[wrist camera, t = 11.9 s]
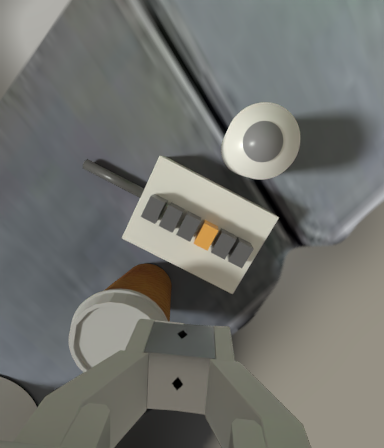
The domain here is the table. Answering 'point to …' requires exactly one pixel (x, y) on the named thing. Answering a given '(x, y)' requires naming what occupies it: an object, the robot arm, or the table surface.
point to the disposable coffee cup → (118, 314)
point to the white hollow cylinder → (261, 141)
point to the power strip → (207, 209)
